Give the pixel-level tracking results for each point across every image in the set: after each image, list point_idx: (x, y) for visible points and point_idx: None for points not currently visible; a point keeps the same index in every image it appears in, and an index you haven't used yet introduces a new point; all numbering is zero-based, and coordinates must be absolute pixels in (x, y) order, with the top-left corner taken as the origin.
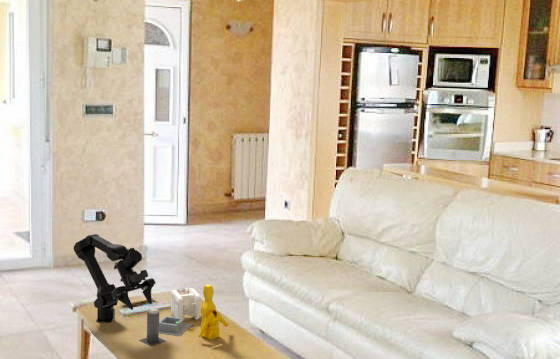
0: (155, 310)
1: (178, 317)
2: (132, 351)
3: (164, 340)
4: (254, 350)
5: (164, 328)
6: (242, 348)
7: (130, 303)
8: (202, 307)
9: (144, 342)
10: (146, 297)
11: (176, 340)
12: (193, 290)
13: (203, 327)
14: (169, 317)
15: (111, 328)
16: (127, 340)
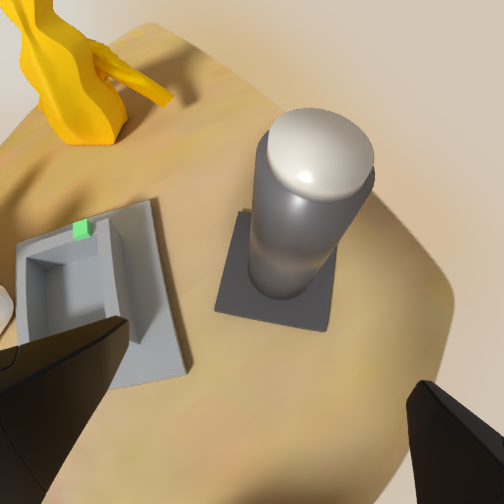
0: (313, 126)
1: (2, 299)
2: (413, 274)
3: (238, 223)
4: (148, 39)
5: (126, 296)
6: (148, 52)
7: (469, 418)
8: (67, 45)
9: (326, 286)
10: (66, 438)
11: (190, 196)
12: None
13: (142, 73)
14: (27, 324)
15: None
16: (347, 391)
